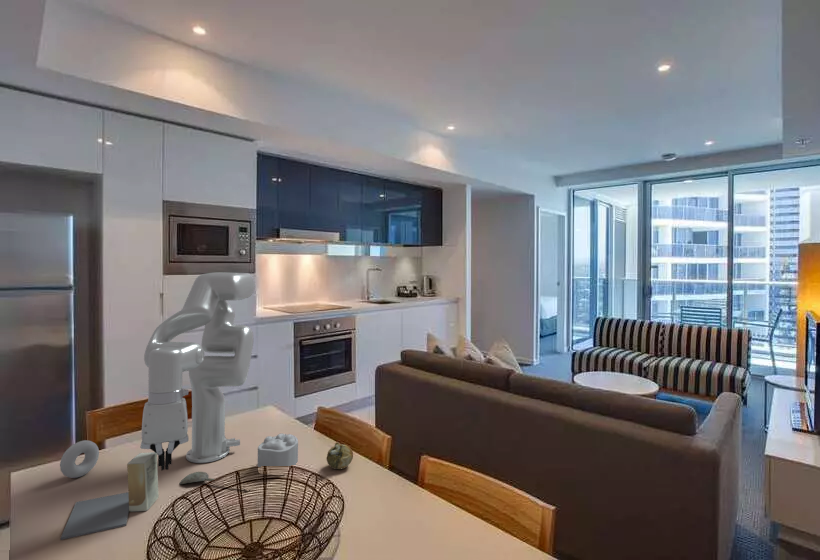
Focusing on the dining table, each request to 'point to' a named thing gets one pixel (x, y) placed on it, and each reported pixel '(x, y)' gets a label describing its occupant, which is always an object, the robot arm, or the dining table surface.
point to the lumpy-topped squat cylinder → (278, 451)
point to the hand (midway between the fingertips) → (164, 467)
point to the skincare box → (142, 481)
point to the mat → (97, 515)
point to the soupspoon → (196, 477)
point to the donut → (73, 452)
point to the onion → (339, 456)
